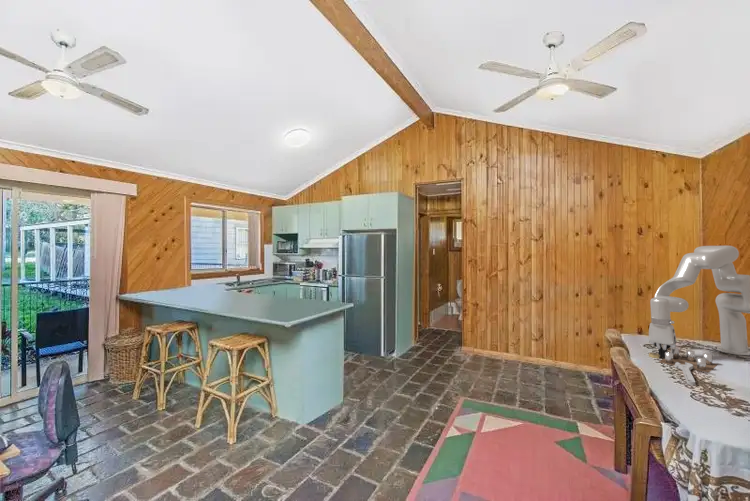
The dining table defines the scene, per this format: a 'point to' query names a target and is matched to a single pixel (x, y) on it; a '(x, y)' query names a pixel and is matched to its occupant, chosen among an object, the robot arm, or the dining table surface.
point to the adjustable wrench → (686, 372)
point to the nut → (654, 355)
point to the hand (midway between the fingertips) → (663, 356)
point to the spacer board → (683, 360)
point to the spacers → (689, 358)
